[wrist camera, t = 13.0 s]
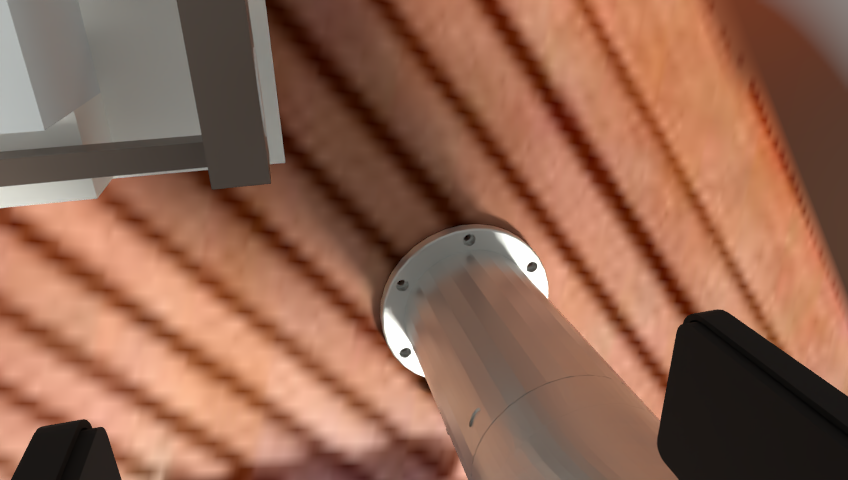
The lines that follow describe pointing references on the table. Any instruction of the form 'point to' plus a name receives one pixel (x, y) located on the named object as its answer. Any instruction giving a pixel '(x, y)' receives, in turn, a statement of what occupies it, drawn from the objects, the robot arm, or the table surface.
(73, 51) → the stand
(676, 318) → the table surface
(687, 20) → the table surface
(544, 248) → the table surface
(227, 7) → the grey frame
